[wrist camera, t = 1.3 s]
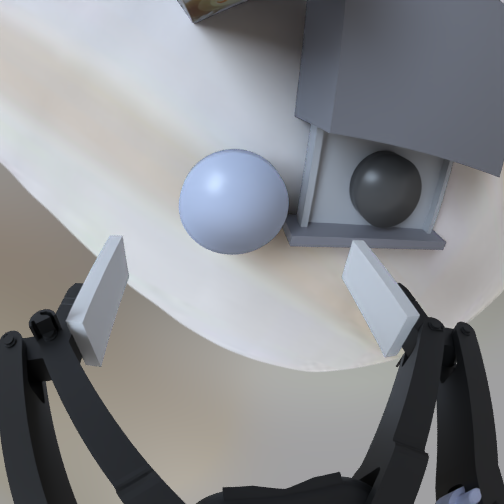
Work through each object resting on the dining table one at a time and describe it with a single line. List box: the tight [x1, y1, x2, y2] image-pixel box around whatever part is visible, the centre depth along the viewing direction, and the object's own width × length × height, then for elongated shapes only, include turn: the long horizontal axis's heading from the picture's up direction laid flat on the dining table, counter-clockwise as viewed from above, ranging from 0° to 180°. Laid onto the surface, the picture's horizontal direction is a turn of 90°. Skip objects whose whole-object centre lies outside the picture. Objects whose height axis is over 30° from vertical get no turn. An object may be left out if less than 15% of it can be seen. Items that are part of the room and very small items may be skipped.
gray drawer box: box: [295, 0, 504, 177], centre depth 16 cm, size 17×18×8 cm
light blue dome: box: [179, 149, 289, 255], centre depth 22 cm, size 8×8×2 cm
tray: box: [282, 124, 453, 250], centre depth 23 cm, size 17×18×4 cm
